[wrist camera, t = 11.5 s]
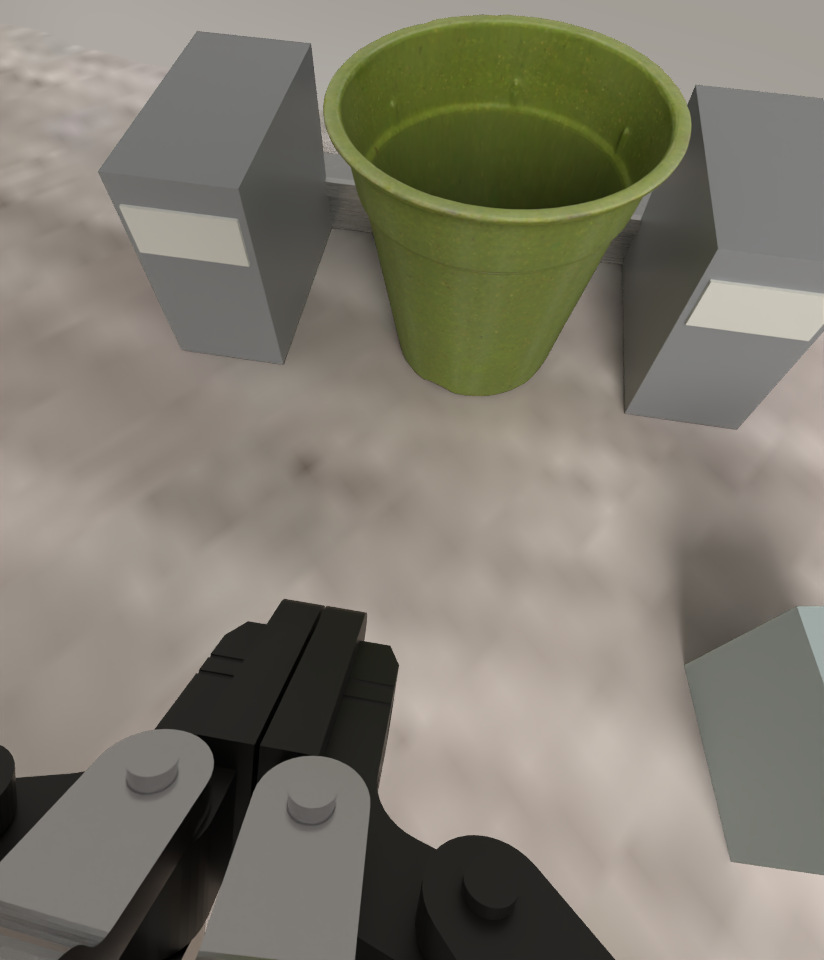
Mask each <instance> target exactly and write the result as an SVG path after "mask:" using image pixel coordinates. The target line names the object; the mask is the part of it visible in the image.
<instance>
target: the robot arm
mask: <svg viewBox="0 0 824 960" xmlns="http://www.w3.org/2000/svg"><path fill="white" fill-rule="evenodd" d="M366 623H367V613H365V612H359V611H353V610H348V609H342V608H336V607H330V606H326V608H325V606H323V605H318V604H312V603H306V602H300V601H294V600H288V599H283V600H282V601H281V603H280V604H279V606H278V608H277V609H276V611H275V612H274V614H273V615H272V617H271V619H270V620H269V622H268V623H267V625H266V624H260V623H255V622H249V621H248V622H246V623H245V624H243V625H241V626H239V627H238V628H236V629H234V630H233V631H231V632H229V633H228V634H226V635H225V636H224V637H223V638H222V640H221V641H220V642H219V644H218V645H217V646H216V648H215V649H214V650H213V652H212V653H211V656H210V658H209V657H208V658H207V660H206V661H205V662H204V664H203V665H202V666H201V668H200V669H199V673H198V674H197V673H196V675H195V676H194V677H193V679H192V680H191V681H190V683H189V684H188V685H187V687H186V688H185V689H184V691H183V692H182V693H181V695H180V696H179V697H178V699H177V700H176V701H175V703H174V704H173V705H172V707H171V708H170V709H169V711H168V712H167V713H166V715H165V716H164V717H163V719H162V720H161V721H160V723H159V724H158V726H157V727H156V728H155V730H150V731H145V732H141V733H138V734H135V735H132V736H130V737H127V738H125V739H123V740H121V741H119V742H117V743H116V744H114V745H113V746H111V747H110V748H108V749H107V750H106V751H105V752H104V753H103V754H102V755H100V756H99V758H98V759H97V760H96V761H95V762H94V763H93V764H92V765H91V766H90V767H89V768H88V769H87V770H86V771H85V772H79V773H71V774H60V775H47V776H35V777H22V778H16V777H15V763H14V759H13V756H12V755H11V753H10V752H9V751H8V750H7V749H6V748H4V747H3V746H1V745H0V960H615V959H614V958H613V957H612V955H611V954H610V953H609V952H608V951H607V949H606V948H605V947H604V946H603V945H602V944H601V942H600V941H599V940H598V939H597V938H596V937H595V935H594V934H593V933H592V932H591V931H590V929H589V928H588V927H587V926H586V925H585V924H584V922H583V921H582V920H581V919H580V918H579V917H578V915H577V914H576V913H575V912H574V911H573V909H572V908H571V907H570V906H569V905H568V904H567V902H566V901H565V900H564V899H563V898H562V896H561V895H560V894H559V893H558V892H557V891H556V889H555V888H554V887H553V886H552V885H551V884H550V882H549V881H548V880H547V879H546V878H545V876H544V875H543V874H542V873H541V872H540V871H539V869H538V868H537V867H536V866H535V865H534V864H533V863H532V862H531V861H530V860H529V859H528V858H527V857H526V856H525V855H524V854H522V853H521V852H520V851H519V850H517V849H515V848H514V847H512V846H510V845H509V844H507V843H504V842H502V841H500V840H497V839H494V838H490V837H486V836H479V835H468V836H462V837H457V838H455V839H452V840H449V841H447V842H446V843H444V844H443V845H441V846H440V847H439V848H438V849H437V850H436V849H434V848H433V847H431V846H429V845H427V844H425V843H423V842H421V841H419V840H417V839H415V838H414V837H412V836H410V835H409V834H407V833H406V832H404V831H403V830H402V829H401V828H399V827H398V826H397V825H396V824H395V823H394V822H393V821H392V820H391V819H390V817H389V816H388V814H387V813H386V812H385V810H384V808H383V806H382V804H381V802H380V799H379V795H378V788H379V782H380V777H381V772H382V766H383V761H384V755H385V750H386V745H387V739H388V733H389V726H390V720H391V713H392V707H393V700H394V694H395V687H396V681H397V674H398V668H399V664H398V662H397V660H396V658H395V655H394V653H393V651H392V649H391V646H388V645H382V644H377V643H371V642H365V641H364V638H365V631H366ZM221 884H222V885H221ZM220 887H221V888H220ZM219 889H220V891H219ZM218 891H219V894H218ZM217 894H218V897H217V900H216V903H215V906H214V908H213V911H212V914H211V917H210V920H209V923H208V926H207V929H206V932H205V921H206V919H207V917H208V915H209V912H210V910H211V908H212V905H213V903H214V901H215V898H216V896H217Z"/></svg>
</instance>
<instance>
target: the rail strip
mask: <svg viewBox="0 0 824 960" xmlns="http://www.w3.org/2000/svg"><path fill="white" fill-rule="evenodd" d="M324 162H325V171H326V179H325V181H324V183H325V192H326V196H328V197H329V206H330V215H331V224H332V228H339V229H346V230H354V231H362V232H370V233H373V232H372V228H371V224H370V220H369V216H368V214H367V213H366V211H365V210H364V208H363V206H362V204H361V201H360V199H359V196H358V193H357V190H356V186H355V182H354V178H353V175H352V171H351V167H350V166H349V165H348V164H347V163H346V162H345V160H344V159H343V158H342V157H341V155H339V154H331V153H324ZM651 193H652V192H650V193H649V194H647V195H646V196H644V197H643V198H642V200H641V202H640V203H639V205H638V207H637V208H636V210H635V212H634V214H633V215H632V217H631V219H630V220H629V222H628V223H627V225H626V226H625V228H624V229H623V230H622V231H621V232H620V233H619V234H618V236H617V237H616V238H614V239H613V240H612V241H611V243H610V245H609V247H608V248H607V250H606V252H605V254H604V256H603V257H602V259H601V261H600V262H605V263H613V264H621V265H622V264H623V262H624V259H625V257H626V254H627V252H628V249H629V247H630V244H631V242H632V240H633V237H634V235H635V234H636V235H637V233H638V231H639V228H640V226H641V223H642V221H643V219H642V215H643V213H644V210H645V208H646V205H647V203H648V200H649V198H650V195H651Z"/></svg>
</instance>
